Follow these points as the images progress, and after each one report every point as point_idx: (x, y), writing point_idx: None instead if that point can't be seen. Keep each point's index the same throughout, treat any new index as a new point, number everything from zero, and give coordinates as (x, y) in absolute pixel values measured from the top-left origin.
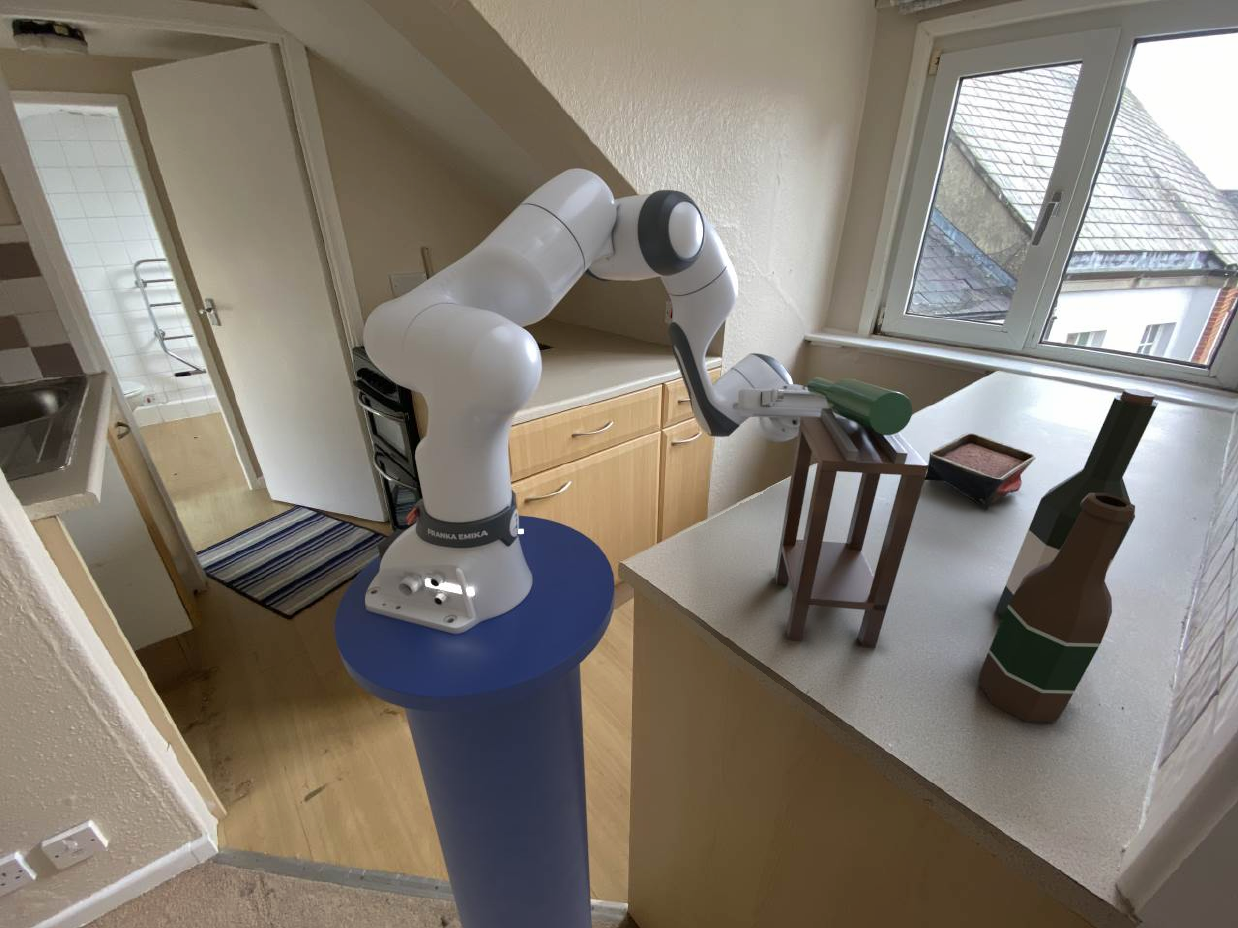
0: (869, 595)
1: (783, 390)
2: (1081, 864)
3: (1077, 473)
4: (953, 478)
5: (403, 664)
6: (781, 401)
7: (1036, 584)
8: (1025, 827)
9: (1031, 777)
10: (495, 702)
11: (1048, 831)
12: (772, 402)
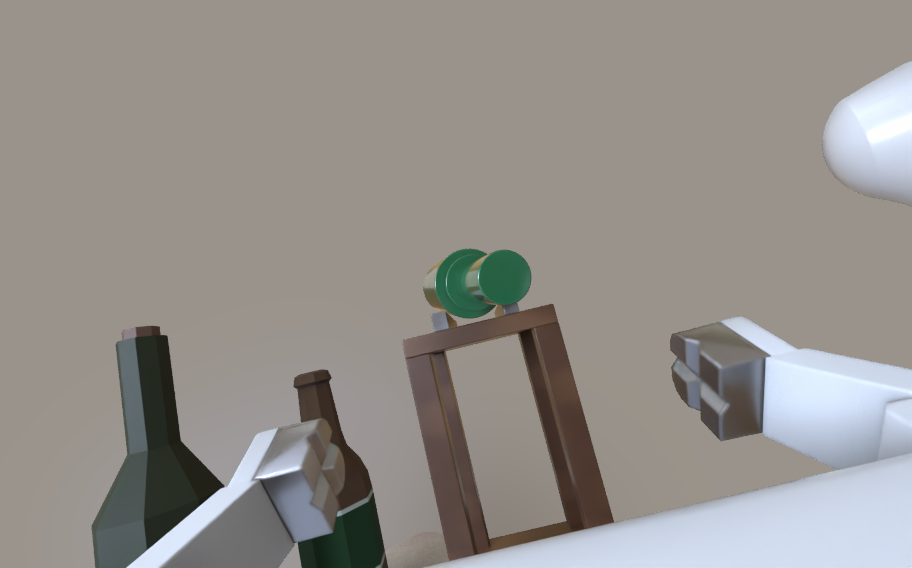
0: (489, 546)
1: (674, 337)
2: (419, 536)
3: (162, 455)
4: None
5: None
6: (713, 429)
7: (355, 459)
8: (438, 539)
9: (410, 563)
10: None
11: (425, 542)
12: (802, 444)
